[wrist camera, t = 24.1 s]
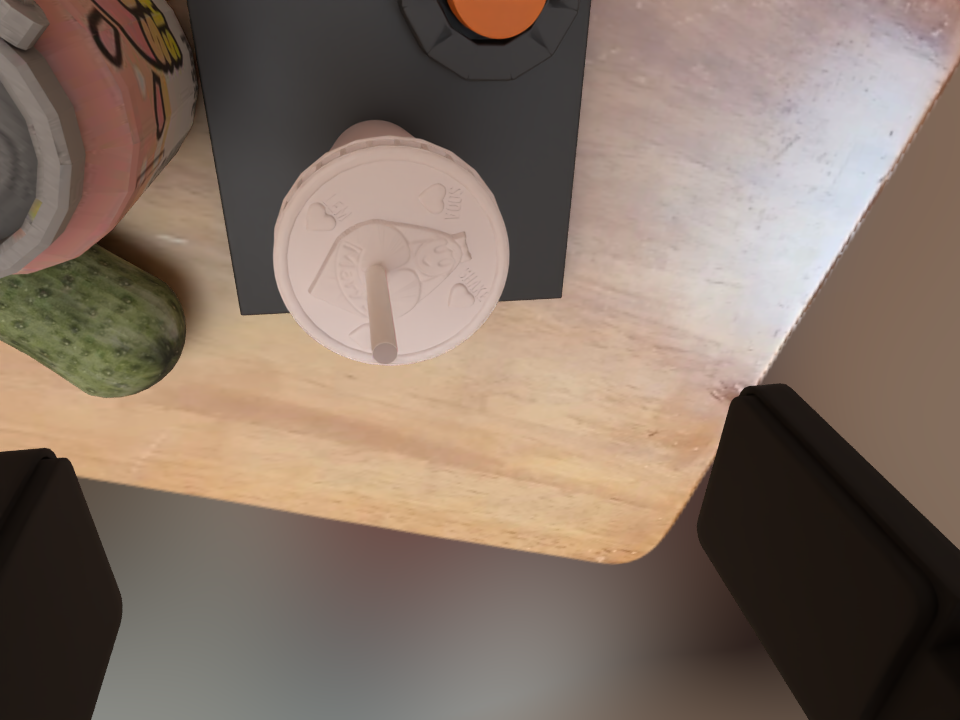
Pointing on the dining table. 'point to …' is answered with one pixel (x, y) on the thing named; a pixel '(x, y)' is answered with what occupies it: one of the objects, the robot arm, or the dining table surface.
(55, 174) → the beverage can
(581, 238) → the dining table surface
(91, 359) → the vegetable
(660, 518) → the dining table surface
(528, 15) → the button
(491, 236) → the smoothie
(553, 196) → the grey button plate
